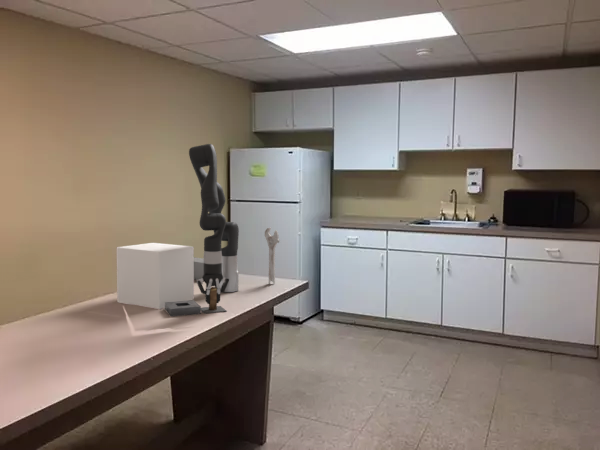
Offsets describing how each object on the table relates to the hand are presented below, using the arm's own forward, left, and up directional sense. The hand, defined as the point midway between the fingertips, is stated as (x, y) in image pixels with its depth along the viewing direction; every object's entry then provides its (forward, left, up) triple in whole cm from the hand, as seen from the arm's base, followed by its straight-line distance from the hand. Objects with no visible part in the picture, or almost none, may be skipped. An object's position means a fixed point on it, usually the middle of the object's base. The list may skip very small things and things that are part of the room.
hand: (212, 302), depth 217 cm
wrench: (-41, -38, -3) cm, 56 cm away
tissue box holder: (-15, -74, -4) cm, 75 cm away
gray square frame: (+12, -2, -3) cm, 13 cm away
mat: (0, 0, -3) cm, 3 cm away
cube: (+19, -26, -4) cm, 32 cm away
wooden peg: (0, 0, -3) cm, 3 cm away
